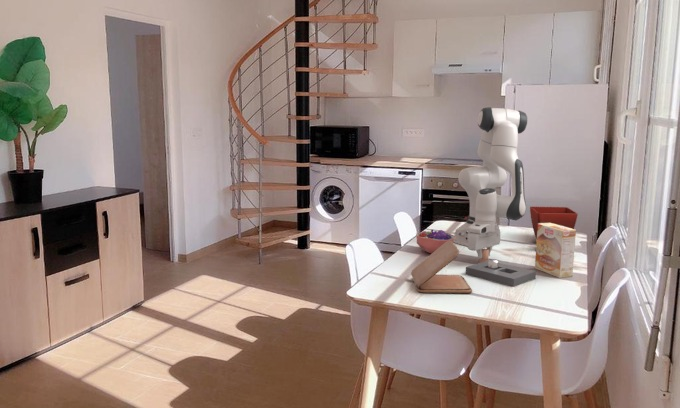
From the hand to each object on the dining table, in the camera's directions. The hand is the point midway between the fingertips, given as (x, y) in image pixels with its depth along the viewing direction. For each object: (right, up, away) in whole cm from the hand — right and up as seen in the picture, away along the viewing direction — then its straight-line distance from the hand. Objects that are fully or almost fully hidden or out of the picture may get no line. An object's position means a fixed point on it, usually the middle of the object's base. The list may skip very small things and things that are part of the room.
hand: (483, 257), depth 242 cm
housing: (+2, -6, -19) cm, 20 cm away
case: (-25, -8, -32) cm, 41 cm away
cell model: (-18, 0, +18) cm, 26 cm away
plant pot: (+45, +3, +41) cm, 61 cm away
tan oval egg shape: (0, -3, 0) cm, 3 cm away
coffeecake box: (+25, -5, -13) cm, 29 cm away
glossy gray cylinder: (-1, -5, -17) cm, 18 cm away
